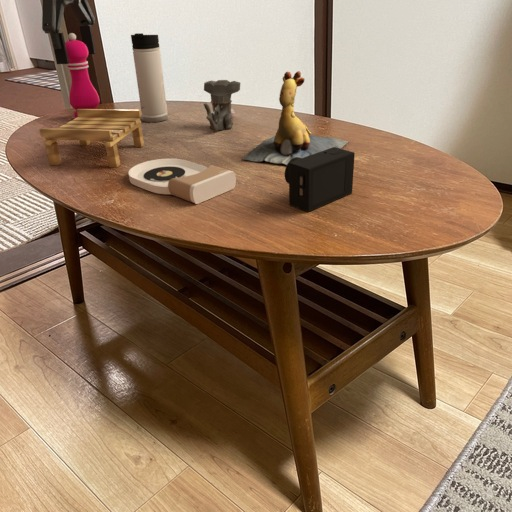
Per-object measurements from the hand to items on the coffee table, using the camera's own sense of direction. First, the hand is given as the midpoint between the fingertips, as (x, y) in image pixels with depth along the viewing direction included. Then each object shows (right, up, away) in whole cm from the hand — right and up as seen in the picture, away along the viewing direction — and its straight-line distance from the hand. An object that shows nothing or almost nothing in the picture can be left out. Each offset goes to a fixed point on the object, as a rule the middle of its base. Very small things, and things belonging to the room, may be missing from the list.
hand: (77, 58), depth 124 cm
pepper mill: (0, -13, +7) cm, 14 cm away
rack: (+11, -27, -19) cm, 34 cm away
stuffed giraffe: (+51, -27, -21) cm, 61 cm away
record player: (+29, -35, -33) cm, 56 cm away
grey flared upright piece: (+34, -17, -2) cm, 38 cm away
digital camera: (+53, -38, -41) cm, 77 cm away
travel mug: (+18, -14, +4) cm, 23 cm away
